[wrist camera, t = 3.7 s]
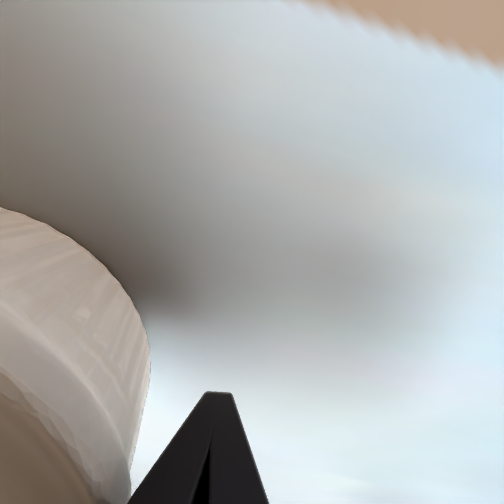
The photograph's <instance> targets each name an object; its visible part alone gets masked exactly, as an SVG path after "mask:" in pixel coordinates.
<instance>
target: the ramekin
mask: <svg viewBox="0 0 504 504" xmlns="http://www.w3.org/2000/svg"><path fill="white" fill-rule="evenodd" d="M150 372H151V362H150V347H149V344H148V341H147V333H146V331H145V329H144V327H143V324H142V321H141V317H140V315H139V313H138V312H137V310H136V309H135V307H134V305H133V303H132V301H131V298H130V297H129V296H128V294H127V293H126V292H125V291H124V289H123V288H122V286H121V284H120V283H119V281H118V280H117V279H116V278H114V277H113V276H112V274H111V273H110V272H109V271H108V270H107V268H106V267H105V266H104V265H103V264H102V263H101V262H100V261H98V260H97V259H96V258H95V257H94V256H93V255H92V254H91V253H90V252H89V251H88V250H86V249H85V248H83V247H82V246H80V245H79V244H78V243H76V242H75V241H74V240H73V239H71V238H70V237H68V236H66V235H64V234H62V233H60V232H59V231H57V230H55V229H54V228H52V227H51V226H49V225H47V224H46V223H43V222H40V221H37V220H34V219H32V218H30V217H28V216H26V215H24V214H22V213H18V212H14V211H10V210H7V209H4V208H1V207H0V504H127V502H128V501H129V499H130V498H131V480H130V469H131V465H132V461H133V456H134V452H135V448H136V443H137V439H138V434H139V429H140V424H141V420H142V415H143V410H144V406H145V401H146V397H147V392H148V388H149V382H150Z"/></svg>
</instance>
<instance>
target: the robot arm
mask: <svg viewBox="0 0 504 504" xmlns="http://www.w3.org/2000/svg"><path fill="white" fill-rule="evenodd" d="M127 504H269V502H268V499H267V496H266V493H265V490H264V487H263V484H262V481H261V478H260V475H259V472H258V469H257V466H256V463H255V460H254V457H253V454H252V451H251V448H250V445H249V442H248V439H247V436H246V433H245V430H244V427H243V424H242V422H241V419H240V416H239V413H238V410H237V407H236V404H235V401H234V398H233V395H232V394H231V393H228V392H212V391H207V392H205V393H204V394H203V396H202V397H201V399H200V400H199V401H198V403H197V404H196V406H195V407H194V409H193V410H192V411H191V413H190V414H189V416H188V417H187V419H186V420H185V421H184V423H183V424H182V426H181V427H180V428H179V430H178V431H177V433H176V434H175V436H174V437H173V438H172V440H171V441H170V443H169V444H168V445H167V447H166V448H165V450H164V451H163V453H162V454H161V455H160V457H159V458H158V460H157V461H156V463H155V464H154V465H153V467H152V468H151V470H150V471H149V472H148V474H147V475H146V477H145V478H144V480H143V481H142V482H141V484H140V485H139V487H138V488H137V489H136V491H135V492H134V494H133V495H132V497H131V498H130V499H129V501H128V502H127Z"/></svg>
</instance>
